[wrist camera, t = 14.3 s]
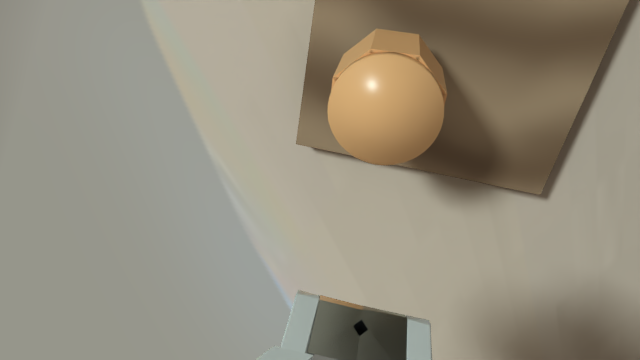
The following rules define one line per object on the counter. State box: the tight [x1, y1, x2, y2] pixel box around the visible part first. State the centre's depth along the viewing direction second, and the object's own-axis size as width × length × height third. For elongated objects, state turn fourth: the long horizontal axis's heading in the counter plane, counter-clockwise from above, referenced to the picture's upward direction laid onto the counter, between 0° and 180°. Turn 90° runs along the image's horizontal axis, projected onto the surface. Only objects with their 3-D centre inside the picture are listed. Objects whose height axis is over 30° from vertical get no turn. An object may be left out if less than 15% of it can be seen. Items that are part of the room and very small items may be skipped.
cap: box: [327, 29, 447, 165], centre depth 24 cm, size 5×5×5 cm
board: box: [296, 0, 629, 195], centre depth 26 cm, size 20×16×2 cm
